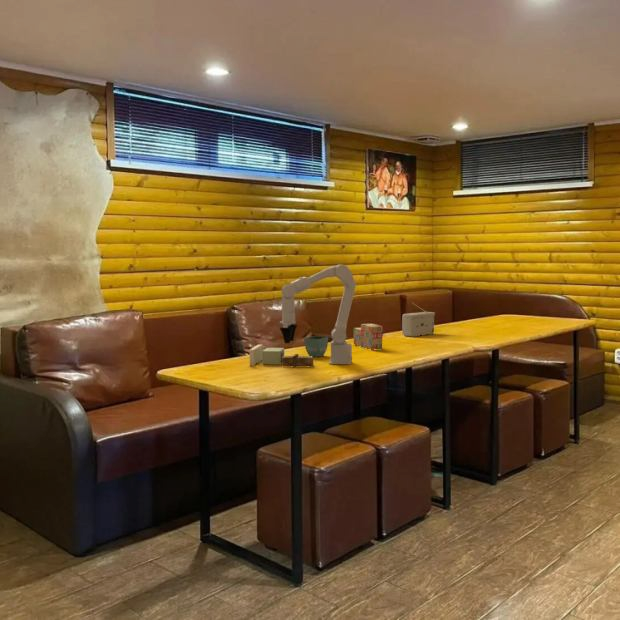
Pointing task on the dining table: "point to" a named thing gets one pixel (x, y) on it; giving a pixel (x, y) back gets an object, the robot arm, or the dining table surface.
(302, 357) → the brown collared bar
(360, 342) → the stack of blocks
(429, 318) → the stereo radio cassette player
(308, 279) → the robot arm
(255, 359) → the wall
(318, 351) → the flower pot
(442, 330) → the dining table surface
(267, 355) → the block
